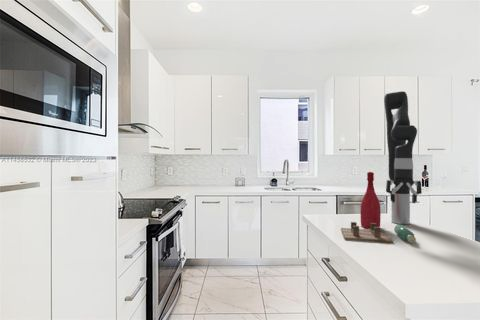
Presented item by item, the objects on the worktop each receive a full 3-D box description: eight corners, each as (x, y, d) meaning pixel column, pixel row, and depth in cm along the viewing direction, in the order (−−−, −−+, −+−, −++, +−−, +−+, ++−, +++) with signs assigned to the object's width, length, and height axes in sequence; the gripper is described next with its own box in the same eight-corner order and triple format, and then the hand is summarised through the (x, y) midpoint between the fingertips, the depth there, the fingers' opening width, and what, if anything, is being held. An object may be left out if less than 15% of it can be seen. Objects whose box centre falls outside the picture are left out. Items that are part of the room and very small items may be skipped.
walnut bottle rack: (341, 230, 142) (341, 219, 142) (383, 232, 137) (383, 221, 137) (344, 239, 125) (344, 227, 125) (393, 243, 120) (393, 230, 120)
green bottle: (393, 234, 135) (394, 224, 135) (405, 235, 133) (405, 225, 133) (405, 244, 118) (405, 233, 118) (418, 246, 117) (418, 234, 117)
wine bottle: (384, 229, 144) (384, 172, 144) (365, 229, 144) (365, 172, 144) (375, 225, 153) (375, 171, 153) (357, 224, 154) (357, 171, 154)
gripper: (417, 168, 130) (417, 202, 130) (384, 167, 134) (384, 200, 134) (423, 168, 123) (423, 204, 123) (388, 168, 127) (388, 203, 127)
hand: (403, 202), depth 128 cm, fingers open, 8 cm apart
